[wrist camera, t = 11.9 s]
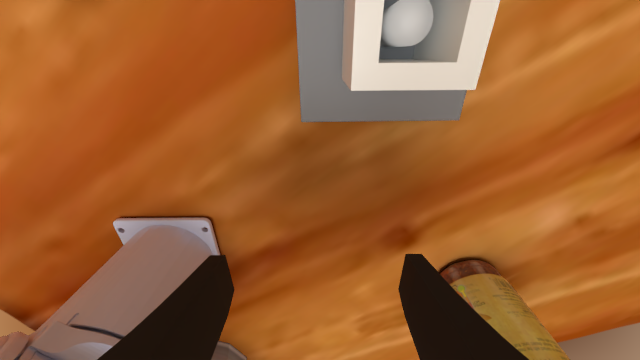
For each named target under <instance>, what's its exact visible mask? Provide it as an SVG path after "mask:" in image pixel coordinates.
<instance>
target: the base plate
mask: <svg viewBox="0 0 640 360" xmlns="http://www.w3.org/2000/svg"><path fill="white" fill-rule="evenodd" d="M295 3H296V23H297V44H298V64H299V84H300V105H301V122H349V121H435V120H459V118H460V115H461V111H462V107H463V103H464V99H465V95H466V91H467V90H381V91H351V90H350V89H349V87H348V86H347V85H346V84H345V82H344V81H343V80H342V54H343V23H344V0H295ZM432 23H433V8H432V5H431V3H430V2H429V0H384V9H383V20H382V30H381V41H380V51H379V59H413V56H414V49H415V44H417V43H419V42H421V41H422V40H423V39H424V38H425V37H426V36H427V34H428V33H429V31H430V29H431V26H432Z"/></svg>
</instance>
